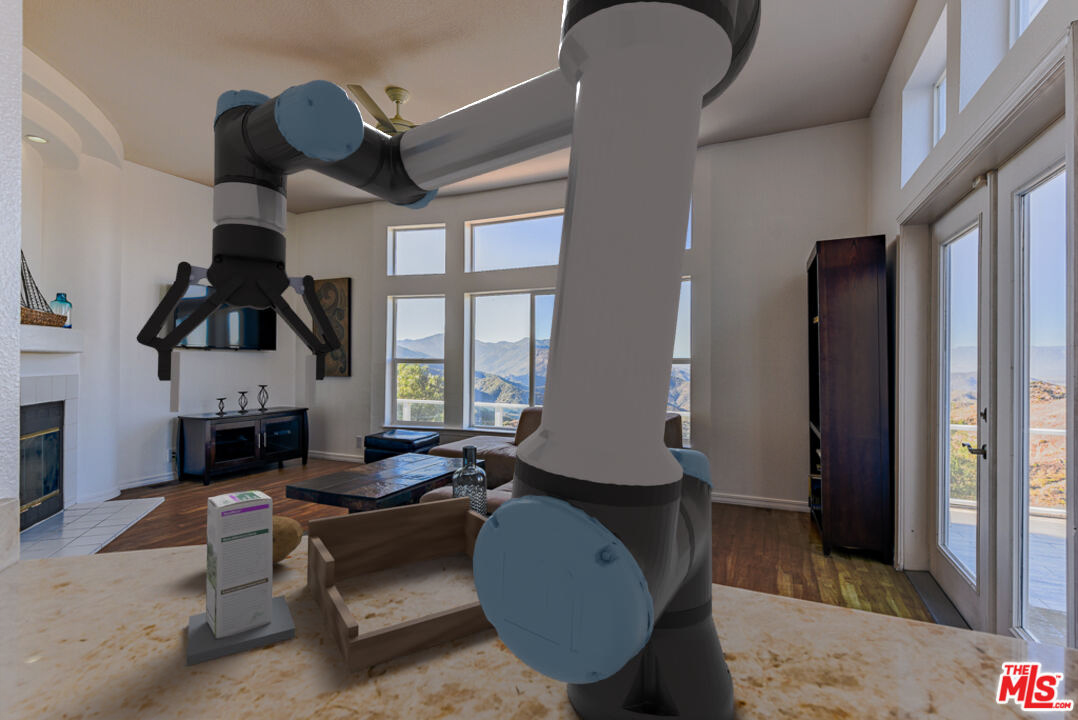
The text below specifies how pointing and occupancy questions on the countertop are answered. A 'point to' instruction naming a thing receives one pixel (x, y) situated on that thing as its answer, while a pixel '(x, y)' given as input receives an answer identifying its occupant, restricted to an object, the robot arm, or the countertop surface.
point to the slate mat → (237, 635)
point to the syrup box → (239, 562)
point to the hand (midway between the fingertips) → (247, 409)
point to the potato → (283, 537)
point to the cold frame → (385, 545)
